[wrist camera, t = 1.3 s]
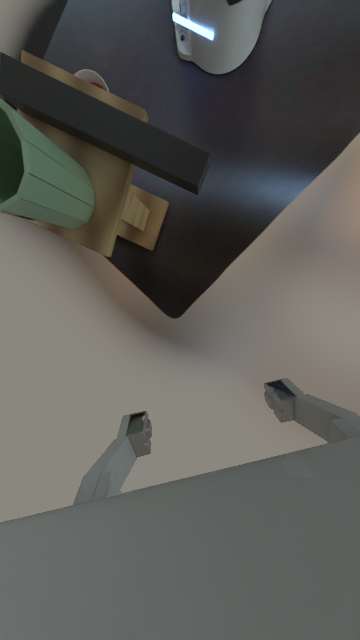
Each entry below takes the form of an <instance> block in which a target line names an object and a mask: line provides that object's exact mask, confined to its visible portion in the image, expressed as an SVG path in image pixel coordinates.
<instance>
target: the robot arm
mask: <svg viewBox="0 0 360 640" xmlns="http://www.w3.org/2000/svg"><path fill="white" fill-rule="evenodd" d="M271 1H272V0H171V7H172V15H173V22H174V30H175V37H176V45H177V52H178V56H179V57H180V58H181V59H183V60H187V61H193V62H194V63H196V64H197V65H198V66H199V67H200V68H202V69H203V70H204V71H206V72H208V73H211V74H224V73H228V72H230V71H232V70H234V69H236V68H237V67H238V66H240V65H241V64H242V63H243V62H244V61H245V59H246V58H247V57H248V56H249V54H250V53H251V51H252V50H253V48H254V46H255V44H256V42H257V39H258V36H259V34H260V30H261V26H262V22H263V18H264V15H265V12H266V11H267V9H268V7H269V5H270V3H271ZM182 39H184V40H183V41H181V40H182ZM264 388H265V390H266V392H265V394H264V395H265V400H266V402H267V404H268V406H269V407H270V408H271V409H273V410H274V414H275V415H276V417H277V418H278V419H279V421H280V422H286V421H291V420H295V421H296V422H297V423H299V424H301V425H302V426H304V427H305V428H307V429H309V430H310V431H312V432H313V433H315V434H317V435H318V436H320V437H321V438H323V439H325V440H326V441H328V443H327V444H324V445H320V446H316V447H312V448H308V449H304V450H300V451H295V452H291V453H287V454H283V455H279V456H275V457H271V458H266V459H263V460H259V461H254V462H250V463H246V464H242V465H238V466H233V467H230V468H225V469H221V470H217V471H213V472H209V473H204V474H200V475H196V476H192V477H188V478H184V479H180V480H176V481H171V482H167V483H163V484H159V485H155V486H151V487H147V488H142V489H138V490H134V491H130V492H126V493H121V491H120V488H121V487H122V485H123V483H124V481H125V479H126V477H127V475H128V474H129V472H130V470H131V468H132V466H133V465H134V463H135V461H136V459H137V457H140V456H143V455H147V454H150V451H151V441H150V438H151V436H152V427H151V422H150V420H149V419H148V414H147V412H146V411H143V412H139V413H134V414H130V415H125V416H123V418H122V421H121V425H120V429H119V433H118V436H117V439H115V440H114V441H113V442H112V443H111V445H110V446H109V447H108V448H107V449H106V451H105V452H104V453H103V454H102V456H101V457H100V458H99V459H98V460H97V462H96V463H95V464H94V465H93V466H92V468H91V469H90V470H89V471H88V473H87V474H86V475H85V476H84V477H83V480H82V482H81V485H80V488H79V490H78V493H77V496H76V498H75V501H74V504H73V505H72V506H68V507H64V508H60V509H56V510H52V511H47V512H43V513H39V514H35V515H31V516H27V517H23V518H19V519H14V520H9V521H5V522H2V523H0V640H360V416H358V415H357V414H356V413H354V412H352V411H349V410H346V409H344V408H341V407H339V406H336V405H334V404H331V403H329V402H326V401H324V400H321V399H318V398H316V397H313V396H311V395H308V394H307V395H305V394H304V393H303V392H302V391H301V390H300V389H299V388H298V387H296V386H295V385H294V384H293V383H292V382H291V381H290V380H289V379H288V378H284V379H280V380H276V381H272V382H268V383H265V384H264Z"/></svg>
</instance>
